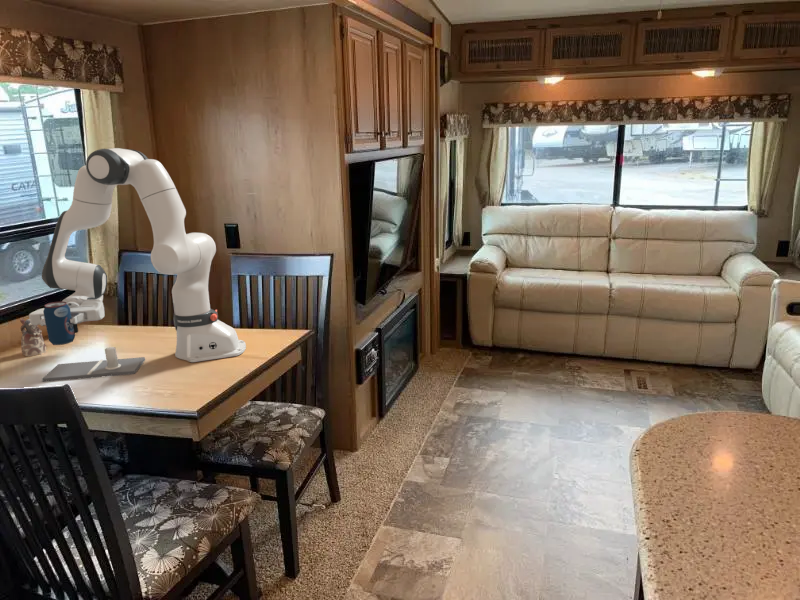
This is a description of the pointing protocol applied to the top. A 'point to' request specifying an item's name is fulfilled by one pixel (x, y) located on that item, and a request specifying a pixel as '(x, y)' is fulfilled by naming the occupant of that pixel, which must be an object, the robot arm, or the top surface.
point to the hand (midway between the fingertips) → (57, 322)
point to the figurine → (31, 339)
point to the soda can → (59, 323)
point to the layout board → (95, 367)
